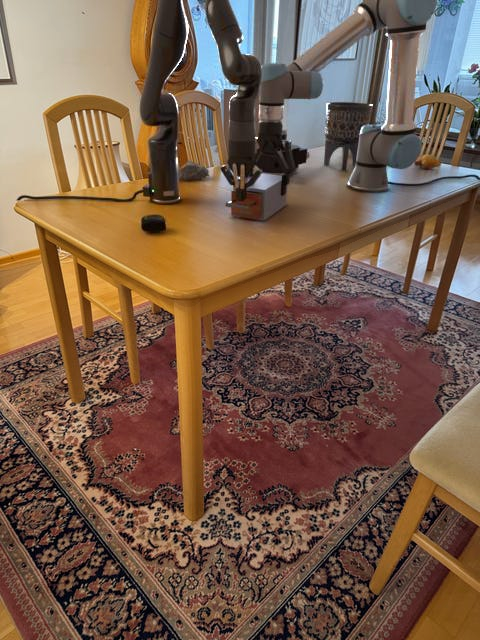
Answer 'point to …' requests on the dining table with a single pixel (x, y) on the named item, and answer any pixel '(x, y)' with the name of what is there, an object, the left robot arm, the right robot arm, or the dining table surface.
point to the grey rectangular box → (268, 194)
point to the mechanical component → (272, 165)
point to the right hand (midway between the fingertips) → (267, 192)
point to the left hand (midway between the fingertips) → (241, 200)
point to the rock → (192, 172)
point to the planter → (345, 129)
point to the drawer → (246, 205)
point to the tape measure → (153, 223)
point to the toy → (427, 162)
